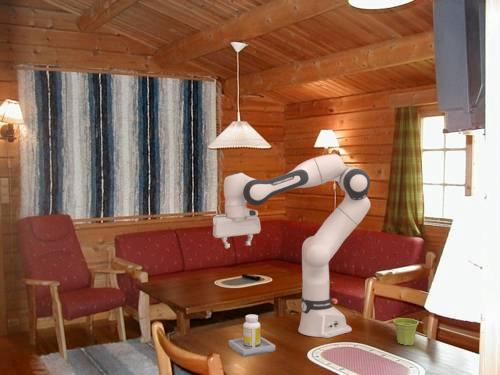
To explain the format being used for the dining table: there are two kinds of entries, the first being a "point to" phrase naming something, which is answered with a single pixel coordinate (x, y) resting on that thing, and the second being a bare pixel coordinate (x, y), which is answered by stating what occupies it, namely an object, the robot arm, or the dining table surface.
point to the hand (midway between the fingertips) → (238, 246)
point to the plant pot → (405, 330)
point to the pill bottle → (251, 332)
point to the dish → (264, 348)
